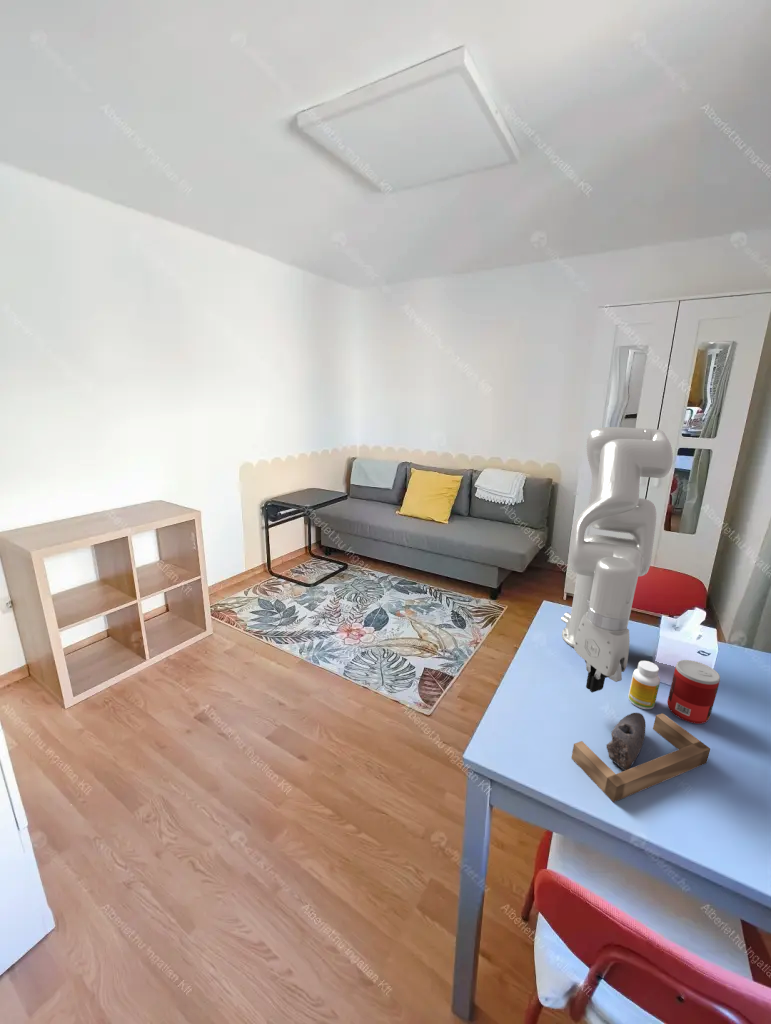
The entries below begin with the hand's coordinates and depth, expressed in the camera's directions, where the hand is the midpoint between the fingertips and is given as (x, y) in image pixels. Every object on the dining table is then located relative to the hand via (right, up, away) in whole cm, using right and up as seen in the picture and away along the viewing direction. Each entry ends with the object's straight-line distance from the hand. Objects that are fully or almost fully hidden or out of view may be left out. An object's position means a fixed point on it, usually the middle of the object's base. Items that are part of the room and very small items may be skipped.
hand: (594, 688), depth 95 cm
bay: (+4, -10, -10) cm, 15 cm away
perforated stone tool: (+3, -9, -8) cm, 12 cm away
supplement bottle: (+13, -6, +6) cm, 16 cm away
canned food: (+22, -7, +3) cm, 23 cm away
